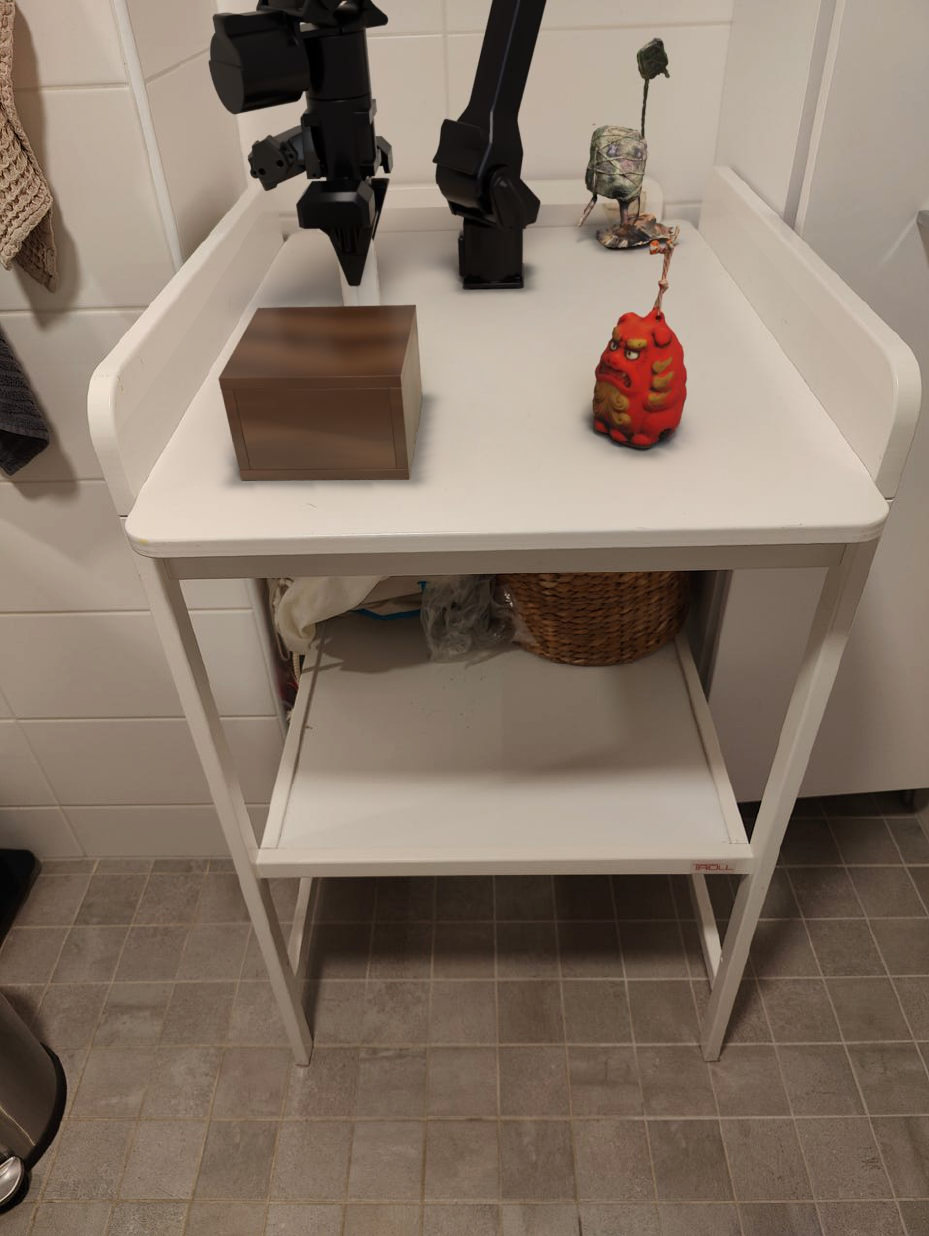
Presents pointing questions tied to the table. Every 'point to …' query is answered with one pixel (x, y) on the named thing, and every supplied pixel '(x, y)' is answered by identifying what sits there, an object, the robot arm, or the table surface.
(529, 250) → the table surface
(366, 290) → the eye dropper bottle
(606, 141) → the grey-green tall irregular figure
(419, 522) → the table surface
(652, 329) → the red clay folk toy
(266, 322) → the cabinet
